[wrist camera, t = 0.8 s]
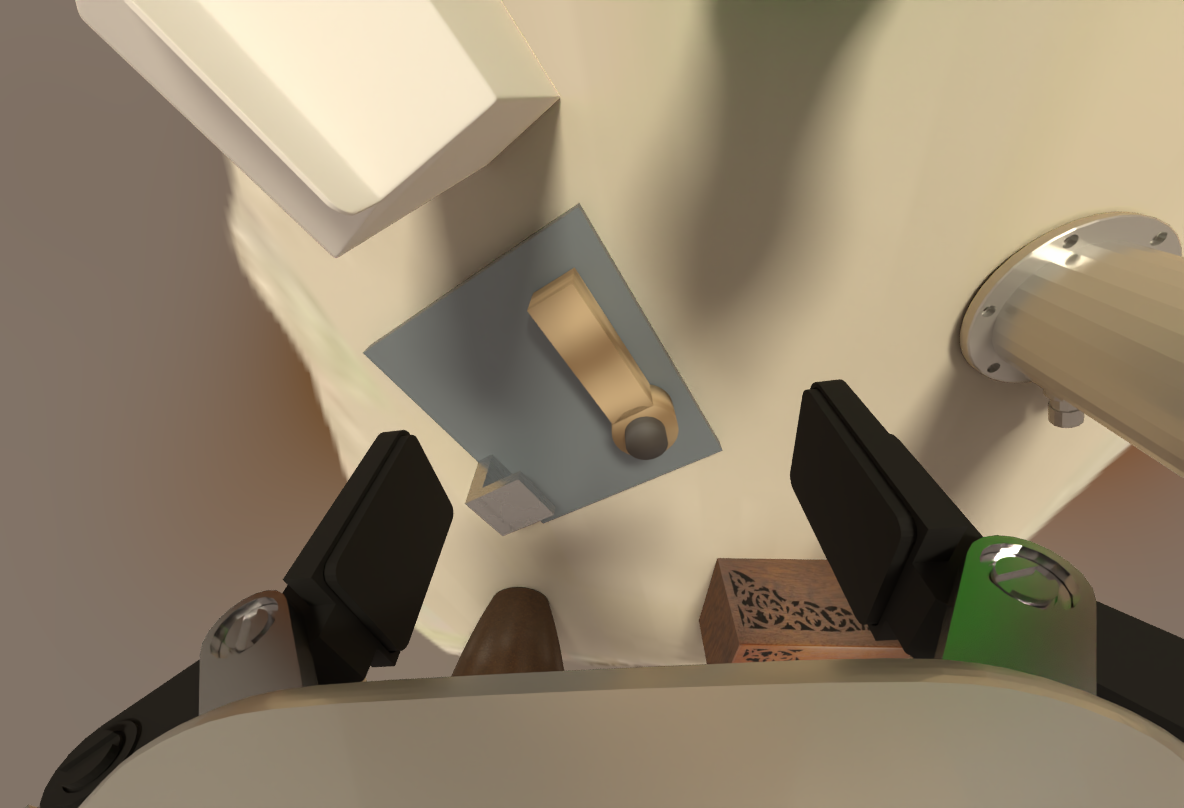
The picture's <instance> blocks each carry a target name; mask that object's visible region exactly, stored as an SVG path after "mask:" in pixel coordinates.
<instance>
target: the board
mask: <svg viewBox="0 0 1184 808" xmlns="http://www.w3.org/2000/svg"><path fill="white" fill-rule="evenodd" d="M574 267H575V269H576V270H577V272H578V273H579V275H580V276H581V278H582V280H583V281H584V283H585V284H586V286H587V287H588V289H589V290H590V292H591V294H592V295H593V297H594V298H595V300H596V301H597V303H598V304H599V306H600V307H601V309H602V311H603V312H604V314H605V315H606V317H607V318H608V320H609V321H610V323H611V325H612V326H613V328H614V329H615V331H616V332H617V334H618V335H619V337H620V339H621V340H622V342H623V343H624V345H625V346H626V348H627V349H628V351H629V352H630V354H631V356H632V357H633V359H634V360H635V362H636V363H637V365H638V366H639V368H640V370H641V371H642V373H643V374H644V376H645V377H646V379H647V380H648V382H649V383H650V384H651V385H655V386H658V387H660V388H662V389H663V390H665V391H666V392H667V393H668V394H669V396H670V397H671V399H672V402H673V406H674V410H675V415H676V419H677V423H678V428H679V431H678V436H677V439H676V441H675V442H674V444H673V445H672V446H671V447H670V448H669V449H667V450H666V451H665V452H664V453H663V454H662V455H661V456H659V457H657V458H654V459H651V460H640V459H637V458H634V457H633V456H631V455H629V454H627V453H625V452H623V451H621V450H620V449H619V448H618V447H617V446H616V444H615V443H614V441H613V438H612V423H611V421H610V420H609V419H608V417H607V416H606V415H605V413H604V412H603V411H602V410H601V408H600V407H599V406H598V404H597V403H596V402H595V400H594V399H593V398H592V396H591V395H590V394H589V392H588V391H587V390H586V388H585V387H584V386H583V384H582V383H581V382H580V380H579V379H578V378H577V376H576V375H575V374H574V372H573V371H572V370H571V368H570V367H569V366H568V364H567V363H566V362H565V360H564V359H563V358H562V356H561V355H560V354H559V352H558V351H557V350H556V349H555V347H554V346H553V345H552V343H551V342H550V341H549V339H548V338H547V337H546V335H545V334H544V333H543V331H542V330H541V329H540V327H539V326H538V325H537V323H536V322H535V321H534V319H533V318H532V317H531V315H530V314H529V313H528V311H527V310H528V307H529V304H530V301H531V298H532V295H533V293H534V292H536V291H538V290H539V289H541V288H542V287H544V286H545V285H547V284H549V283H550V282H552V281H553V280H555V279H557V278H558V277H560V276H561V275H563V274H565V273H566V272H568V271H569V270H571V269H573V268H574ZM363 353H364V354H365V355H366V356H367V357H368V358H369V359H370V360H371V361H372V362H373V363H374V364H375V365H376V366H377V367H378V368H379V369H380V370H382V371H383V372H384V373H385V374H386V375H387V376H388V377H389V378H390V379H391V380H392V381H393V382H394V383H395V384H396V385H397V386H398V387H399V388H401V389H402V390H403V391H404V392H405V393H406V394H407V395H408V396H409V397H410V398H411V399H412V400H413V401H414V402H415V403H416V404H417V405H419V406H420V407H421V408H422V409H423V410H424V411H425V412H426V413H427V414H428V415H429V416H430V417H431V418H432V419H433V420H434V421H435V422H436V423H438V424H439V425H440V426H441V427H442V428H443V429H444V430H445V431H446V432H447V433H448V434H449V435H450V436H451V437H452V438H453V439H454V440H455V441H457V442H458V443H459V444H460V445H461V446H462V447H463V448H464V449H465V450H466V451H467V452H468V453H469V454H470V455H471V456H472V457H473V458H475V459H476V460H477V461H478V462H479V460H481V459H483V458H485V457H487V456H489V455H491V454H493V455H494V456H495V457H496V458H497V459H498V460H499V461H500V462H501V463H502V464H503V465H504V466H505V467H506V468H507V469H508V470H509V471H510V472H511V473H512V474H513V473H516V472H518V471H521V472H522V473H523V474H524V475H525V476H526V477H527V478H528V479H529V480H530V481H531V482H532V483H533V484H534V485H535V486H536V487H537V488H538V489H539V490H540V491H541V492H542V493H543V494H544V495H545V496H546V497H547V498H548V499H549V500H550V501H551V502H552V503H553V504H554V505H555V513H554V515H553V516H550V517H548V518H546V519H543V520H541V522H542V523H545V522H548V521H550V520H553V519H555V518H558V517H560V516H563V515H565V514H568V513H570V512H572V511H575V510H577V509H580V508H582V507H585V506H587V505H590V504H592V503H595V502H597V501H600V500H602V499H604V498H607V497H609V496H612V495H614V494H617V493H619V492H622V491H624V490H627V489H629V488H631V487H634V486H636V485H639V484H641V483H644V482H646V481H649V480H651V479H654V478H656V477H658V476H661V475H663V474H666V473H668V472H671V471H673V470H676V469H678V468H681V467H683V466H685V465H688V464H690V463H693V462H695V461H698V460H700V459H703V458H705V457H708V456H710V455H712V454H715V453H717V452H720V451H722V448H721V445H720V442H719V440H718V439H717V437H716V435H715V434H714V432H713V430H712V428H711V427H710V425H709V423H708V422H707V420H706V418H705V416H704V415H703V413H702V411H701V410H700V408H699V406H698V405H697V403H696V401H695V399H694V398H693V396H692V394H691V393H690V391H689V389H688V388H687V386H686V384H685V382H684V381H683V379H682V377H681V376H680V374H679V372H678V370H677V369H676V367H675V365H674V364H673V362H672V360H671V359H670V357H669V355H668V353H667V352H666V350H665V348H664V347H663V345H662V343H661V342H660V340H659V338H658V336H657V335H656V333H655V331H654V330H653V328H652V326H651V324H650V323H649V321H648V319H647V318H646V316H645V314H644V313H643V311H642V309H641V307H640V306H639V304H638V302H637V301H636V299H635V297H634V296H633V294H632V292H631V290H630V289H629V287H628V285H627V284H626V282H625V280H624V278H623V277H622V275H621V273H620V272H619V270H618V268H617V267H616V265H615V263H614V261H613V260H612V258H611V256H610V255H609V253H608V251H607V250H606V248H605V246H604V244H603V243H602V241H601V239H600V238H599V236H598V234H597V232H596V231H595V229H594V227H593V226H592V224H591V222H590V221H589V219H588V217H587V215H586V214H585V212H584V210H583V209H582V207H581V205H580V203H579V204H577V205H576V206H574V207H573V208H571V209H570V210H568V211H567V212H565V213H564V214H562V215H561V216H559V217H558V218H557V219H555V220H554V221H552V222H551V223H549V224H548V225H546V226H545V227H543V228H542V229H540V230H539V231H537V232H536V233H534V234H533V235H532V236H530V237H529V238H527V239H526V240H524V241H523V242H521V243H520V244H518V245H517V246H515V247H514V248H512V249H511V250H510V251H508V252H507V253H505V254H504V255H502V256H501V257H499V258H498V259H496V260H495V261H493V262H492V263H490V264H489V265H487V266H486V267H485V268H483V269H482V270H480V271H479V272H477V273H476V274H474V275H473V276H471V277H470V278H468V279H467V280H465V281H464V282H462V283H461V284H460V285H458V286H457V287H455V288H454V289H452V290H451V291H449V292H448V293H446V294H445V295H443V296H442V297H440V298H439V299H438V300H436V301H435V302H433V303H432V304H430V305H429V306H427V307H426V308H424V309H423V310H421V311H420V312H418V313H417V314H415V315H414V316H413V317H411V318H410V319H408V320H407V321H405V322H404V323H402V324H401V325H399V326H398V327H396V328H395V329H393V330H392V331H391V332H389V333H388V334H386V335H385V336H383V337H382V338H380V339H379V340H377V341H376V342H374V343H373V344H371V345H370V346H369V347H368V348H367V349H366V350H365V351H364V352H363Z"/></svg>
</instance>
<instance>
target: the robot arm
mask: <svg viewBox="0 0 1184 808" xmlns="http://www.w3.org/2000/svg"><path fill="white" fill-rule="evenodd" d="M1181 256H1182V247H1181V243H1180V240H1179V237H1178V235H1177V233H1176V232H1175V231H1174V230H1173V229H1172V227H1171V226H1170V225H1169V224H1167V223H1165V222H1163V221H1161V220H1159V219H1157V218H1155V217H1151V216H1146V215H1142V214H1138V213H1130V212H1110V213H1101V214H1095V215H1092V216H1088V217H1085V218H1081V219H1078V220H1074V221H1072V222H1070V223H1067V224H1065V225H1063V226H1060V227H1058V228H1056V229H1053V230H1051V231H1050V232H1048V233H1046V234H1044V235H1043V236H1041V237H1039V238H1037V239H1036V240H1034V241H1032V242H1031V243H1029V244H1028V245H1026V246H1025V247H1024V248H1022V249H1021V250H1020V251H1018V252H1017V253H1015V254H1014V255H1013V256H1011V257H1010V258H1009V259H1008V260H1007V261H1006V262H1005V263H1004V264H1003V265H1002V266H1000V267H999V268H998V269H997V270H996V271H995V272H994V273H993V274H992V275H991V277H990V278H989V279H988V280H987V281H986V282H985V283H984V285H983V286H982V287H981V288H980V290H979V291H978V293H977V294H976V296H975V297H974V299H973V300H972V302H971V303H970V306H969V308H968V310H967V312H966V314H965V316H964V319H963V323H962V327H961V331H960V346H961V350H962V353H963V356H964V357H965V359H966V360H967V362H968V363H969V364H970V365H971V366H972V367H973V368H975V369H976V370H977V371H979V372H980V373H981V374H983V375H985V376H987V377H989V378H990V379H994V380H997V381H1001V382H1010V383H1023V382H1034V383H1035V384H1037V385H1038V386H1040V387H1041V388H1043V394H1044V395H1045V396H1046V397H1047V398H1049V399H1050V401H1049V403H1048V419H1049V422H1050V423H1052V424H1053V425H1054V426H1058V427H1061V428H1072V427H1076V426H1079V425H1080V424H1082V423H1083V421H1084V413H1085V414H1086V415H1088V416H1089V417H1091V418H1092V419H1094V420H1095V421H1097V422H1098V423H1100V424H1101V425H1103V426H1104V427H1106V428H1107V429H1109V430H1111V431H1112V432H1114V433H1115V434H1117V435H1118V436H1120V437H1121V438H1123V439H1124V440H1126V441H1127V442H1129V443H1130V444H1132V445H1133V446H1135V447H1137V448H1138V449H1140V450H1141V451H1143V452H1144V453H1146V454H1147V455H1149V456H1150V457H1152V458H1153V459H1155V460H1156V461H1158V462H1159V463H1161V464H1163V465H1164V466H1165V467H1167V468H1169V469H1170V470H1172V471H1173V472H1175V473H1176V474H1178V475H1179V476H1181V477H1183V478H1184V257H1181ZM790 480H791V484H792V487H793V490H794V492H795V494H796V496H797V498H798V500H799V502H800V504H801V506H802V508H803V511H804V513H805V515H806V517H807V519H808V521H809V523H810V525H811V527H812V529H813V531H814V533H815V535H816V537H817V539H818V541H819V544H820V546H821V548H822V550H823V552H824V554H825V556H826V558H827V560H828V562H829V564H830V566H831V568H832V570H833V572H834V574H835V576H836V579H837V581H838V583H839V585H840V587H841V589H842V591H843V593H844V595H845V597H846V599H847V601H848V603H849V605H850V607H851V609H852V612H853V614H854V616H855V617H856V619H857V620H858V622H859V623H860V624H862V625H868V627H869V629H870V631H871V633H872V635H873V637H874V639H875V641H885V640H898V641H899V643H900V644H901V646H902V648H903V650H904V652H905V653H906V654H908V655H910V656H909V658H870V659H832V660H794V661H771V662H748V663H725V664H702V665H679V666H656V667H635V668H614V669H595V670H594V669H593V670H574V671H552V672H532V673H512V674H493V675H474V676H455V677H437V678H418V679H400V680H384V681H370V682H367V680H366V674H367V672H368V669H369V667H370V666H372V667H386V666H395V665H396V662H397V659H398V656H399V654H400V651H402V650H404V649H405V648H406V647H407V645H408V643H409V640H410V638H411V635H412V632H413V629H414V626H415V624H416V621H417V618H418V615H419V612H420V610H421V607H422V604H423V601H424V598H425V595H426V593H427V590H428V587H429V584H430V581H431V578H432V576H433V573H434V570H435V567H436V564H437V562H438V559H439V556H440V553H441V550H442V547H443V545H444V542H445V539H446V536H447V533H448V531H449V528H450V525H451V522H452V519H453V507H452V504H451V502H450V500H449V499H448V497H447V495H446V493H445V491H444V489H443V487H442V485H441V483H440V481H439V479H438V477H437V476H436V474H435V472H434V470H433V468H432V466H431V464H430V462H429V460H428V458H427V456H426V454H425V453H424V451H423V449H422V447H421V445H420V443H419V441H418V439H417V438H416V436H414V435H410V434H409V432H407V431H406V430H399V431H391V432H383V433H380V434H379V435H378V436H377V438H376V440H375V441H374V443H373V444H372V446H371V447H370V449H369V450H368V452H367V453H366V455H365V456H364V458H363V459H362V461H361V462H360V464H359V465H358V467H357V468H356V470H355V471H354V473H353V474H352V476H351V477H350V479H349V480H348V482H347V483H346V485H345V486H344V488H343V489H342V491H341V492H340V494H339V496H338V497H337V499H336V500H335V502H334V503H333V505H332V506H331V508H330V509H329V511H328V512H327V514H326V515H325V517H324V518H323V520H322V521H321V523H320V524H319V526H318V527H317V529H316V530H315V532H314V533H313V535H312V536H311V538H310V539H309V541H308V542H307V544H306V545H305V547H304V548H303V550H302V551H301V553H300V554H299V556H298V557H297V559H296V561H295V562H294V563H293V565H292V567H291V568H290V569H289V571H288V572H287V574H286V576H285V577H284V579H283V580H284V581H285V582H286V583H287V584H288V585H287V587H286V588H285V590H284V592H283V593H281V592H279V591H277V590H266V591H262V592H258V593H255V594H253V595H251V596H249V597H247V598H245V599H243V600H241V601H240V602H239V603H237V604H236V605H234V606H233V607H232V608H230V609H229V610H228V611H227V612H226V613H225V614H224V615H222V616H221V618H219V619H218V620H217V622H216V623H215V624H214V625H213V627H212V628H211V629H210V630H209V632H208V634H207V635H206V638H205V639H204V641H203V643H202V647H201V652H200V660H198V661H197V662H195V663H194V664H192V665H191V666H189V667H188V668H186V669H185V670H183V671H182V672H180V673H179V674H177V675H176V676H175V677H173V678H172V679H170V680H169V681H167V682H166V683H164V684H163V685H161V686H160V687H159V688H157V689H155V690H154V691H152V692H151V693H150V694H148V695H147V696H145V697H144V698H142V699H141V700H139V701H138V702H136V703H135V704H133V705H132V706H130V707H129V708H127V709H126V710H124V711H123V712H122V713H120V714H119V715H117V716H116V717H114V718H113V719H111V720H110V721H108V722H107V723H105V724H104V725H102V726H101V727H100V728H98V729H97V730H96V731H95V732H93V733H92V734H91V735H89V736H88V737H87V738H85V739H84V740H83V741H82V742H81V743H80V744H79V745H78V746H77V747H76V748H75V749H74V750H73V751H72V752H71V753H70V754H69V755H68V756H67V758H66V759H65V760H64V761H63V763H62V764H61V765H60V766H59V767H58V769H57V770H56V771H55V773H54V774H53V776H52V778H51V779H50V781H49V783H48V784H47V786H46V788H45V790H44V793H43V796H42V799H41V802H40V806H39V807H35V806H31V805H27V806H26V807H25V808H1184V639H1182V638H1180V637H1178V636H1176V635H1173V634H1171V633H1169V632H1166V631H1164V630H1162V629H1160V628H1157V627H1155V626H1153V625H1150V624H1148V623H1146V622H1144V621H1141V620H1139V619H1137V618H1134V617H1132V616H1129V615H1127V614H1125V613H1123V612H1120V611H1118V610H1116V609H1114V608H1111V607H1109V606H1107V605H1104V604H1102V603H1100V602H1097V601H1096V598H1095V594H1094V591H1093V588H1092V587H1091V585H1090V584H1089V582H1088V581H1087V579H1086V578H1085V577H1084V575H1083V574H1082V573H1081V572H1080V571H1079V570H1078V569H1076V568H1075V567H1074V566H1073V565H1072V564H1071V563H1070V562H1068V561H1067V560H1065V559H1063V558H1062V557H1061V556H1059V555H1057V554H1056V553H1054V552H1053V551H1051V550H1049V549H1047V548H1045V547H1042V546H1040V545H1038V544H1035V543H1033V542H1031V541H1027V540H1023V539H1020V538H1016V537H1010V536H999V535H995V536H988V537H983V536H982V535H981V534H980V533H979V532H978V531H977V529H976V528H975V527H974V526H973V525H972V524H971V522H970V521H969V520H968V519H967V518H966V517H965V515H964V514H963V513H962V512H961V511H960V510H959V509H958V507H957V506H956V505H955V504H954V503H953V502H952V500H951V499H950V498H949V497H948V496H947V495H946V493H945V492H944V491H943V490H942V489H941V488H940V487H939V485H938V484H937V483H936V482H935V481H934V480H933V478H932V477H931V476H930V475H929V474H928V473H927V471H926V470H925V469H924V468H923V467H922V466H921V465H920V463H919V462H918V461H917V460H916V459H915V458H914V456H913V455H912V454H911V453H910V452H909V451H908V449H907V448H906V447H905V446H904V445H903V444H902V443H901V441H900V440H899V439H898V438H896V437H895V436H894V435H892V434H889V433H888V432H887V431H886V429H885V428H884V427H883V426H882V425H881V423H880V422H879V421H878V420H877V419H876V418H875V416H874V415H873V414H872V413H871V412H870V411H869V409H868V408H867V407H866V406H865V405H864V403H863V402H862V401H861V400H860V399H859V398H858V396H857V395H856V394H855V393H854V392H853V391H852V389H851V388H850V387H849V386H848V385H847V383H846V382H844V381H843V380H831V381H822V382H815V383H813V384H812V386H811V388H810V389H809V390H805V391H804V392H803V395H802V402H801V408H800V414H799V421H798V427H797V433H796V440H795V446H794V452H793V459H792V465H791V471H790Z"/></svg>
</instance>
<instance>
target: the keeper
mask: <svg viewBox="0 0 1184 808" xmlns="http://www.w3.org/2000/svg"><path fill="white" fill-rule="evenodd" d="M465 504H466V505H467V506H468V507H469V508H470V509H472V510H473V511H474V512H475V513H476V514H477V515H479V516H480V517H481V518H482V519H483V520H484V521H486V522H487V523H488V524H489V525H490V526H492V527H493V528H494V529H495V530H496V531H497V532H499V533H500V534H501V535H502V536H504V535H507V534H509V533H511V532H514V531H516V530H519V529H521V528H524V527H526V526H528V525H531V524H533V523H536V522H538V521H541V520H543V519H546V518H548V517H550V516H553V515H554V513H555V505H554V504H553V503H552V502H551V501H550V500H549V499H548V498H547V497H546V496H545V495H544V494H543V493H542V492H541V491H540V490H539V489H538V488H537V487H536V486H535V485H534V484H533V483H532V482H531V481H530V480H529V479H528V478H527V477H526V476H525V475H524V474H523V473H522V472H521V471H518V472H516V473H513V474H512V473H511V472H510V471H509V470H508V469H507V468H506V467H505V466H504V465H503V464H502V463H501V462H500V461H499V460H498V459H497V458H496V457H495V456H494V455H493V454H491V455H489V456H487V457H485V458H483V459H481V460H479V463H478V466H477V469H476V472H475V475H474V478H473V481H472V484H471V487H470V490H469V493H468V496H467V499H466V502H465Z"/></svg>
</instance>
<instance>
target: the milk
mask: <svg viewBox="0 0 1184 808" xmlns="http://www.w3.org/2000/svg"><path fill="white" fill-rule="evenodd" d="M75 1H76V5H77V9H78V12H79V14H80V16H81V17H82V19H83V20H84V21H85V22H86V23H87V24H88V25H89V26H90V27H91V28H92V29H93V30H94V31H95V32H96V33H97V34H98V35H99V36H100V37H101V38H102V39H103V40H104V41H105V42H106V43H108V44H109V45H110V46H111V47H112V48H113V49H114V50H115V51H116V52H117V53H118V54H119V55H120V56H121V57H122V58H124V59H125V60H126V61H127V62H128V63H129V64H130V65H131V66H132V67H133V68H134V69H135V70H136V71H137V72H138V73H139V74H140V75H141V76H143V78H145V79H146V80H147V81H148V82H149V83H150V84H151V85H152V86H153V87H154V88H155V89H156V90H157V91H158V92H159V93H161V95H162V96H164V97H165V98H166V99H167V100H168V101H169V102H170V103H171V104H172V105H173V106H174V107H175V108H176V109H177V110H179V112H180V113H182V114H183V115H184V116H185V117H186V118H187V119H188V120H189V121H190V122H191V123H192V124H193V125H194V126H195V127H196V128H197V129H198V130H199V131H201V132H202V133H203V134H204V135H205V136H206V137H207V138H208V139H209V140H210V141H211V142H212V143H213V144H214V145H215V146H217V147H218V148H219V149H220V150H221V151H222V152H223V153H224V154H225V155H226V156H227V157H228V158H229V159H230V160H231V161H232V162H233V163H234V164H235V165H236V166H238V167H239V168H240V169H241V170H242V171H243V172H244V173H245V174H246V175H247V176H248V177H249V178H250V179H251V180H252V181H253V182H254V183H256V184H257V185H258V186H259V187H260V188H261V189H262V190H263V191H264V192H265V193H266V194H267V195H268V196H269V197H270V198H271V199H272V200H273V201H275V202H276V203H277V204H278V205H279V206H280V207H281V208H282V209H283V210H284V211H285V212H286V213H287V214H288V215H289V216H290V217H291V218H293V219H294V220H295V221H296V222H297V223H298V224H299V225H300V226H301V227H302V228H303V229H304V230H305V231H306V232H307V233H308V234H309V235H310V236H312V237H313V238H314V239H315V240H316V241H317V242H318V243H319V244H320V245H321V246H322V247H323V248H324V249H325V250H326V251H327V252H328V253H330V254H331V255H332V256H333V257H335V258H338V257H340V256H341V255H343V254H344V253H346V252H348V251H349V250H351V249H352V248H354V247H356V246H357V245H359V244H361V243H362V242H364V241H365V240H367V239H369V238H370V237H372V236H373V235H375V234H377V233H378V232H380V231H381V230H383V229H385V228H386V227H388V226H390V225H391V224H393V223H394V222H396V221H398V220H399V219H401V218H402V217H404V216H406V215H407V214H409V213H411V212H412V211H414V210H415V209H417V208H419V207H420V206H422V205H423V204H425V203H427V202H428V201H430V200H431V199H433V198H435V197H436V196H438V195H440V194H441V193H443V192H444V191H446V190H448V189H449V188H451V187H452V186H454V185H456V184H457V183H459V182H460V181H462V180H464V179H465V178H467V177H469V176H470V175H472V174H473V173H475V172H477V171H478V170H480V169H481V168H483V167H485V166H486V165H488V164H489V163H490V162H491V161H492V160H493V159H494V158H495V157H496V156H497V155H499V154H500V153H501V152H502V151H503V150H504V149H505V148H506V147H507V146H508V145H509V144H511V143H512V142H513V141H514V140H515V139H516V138H517V137H518V136H519V135H520V134H521V133H523V132H524V131H525V130H526V129H527V128H528V127H529V126H530V125H531V124H532V123H533V122H535V121H536V120H537V119H538V118H539V117H540V116H541V115H542V114H543V113H544V112H545V111H547V110H548V109H549V108H550V107H551V106H552V105H553V104H554V103H555V102H556V101H557V100H558V99H559V98H560V95H559V93H558V91H557V90H556V88H555V87H554V85H553V83H552V82H551V80H550V78H549V77H548V75H547V74H546V72H545V70H544V69H543V67H542V65H541V64H540V62H539V61H538V59H537V57H536V56H535V54H534V53H533V51H532V49H531V48H530V46H529V44H528V43H527V41H526V40H525V38H524V36H523V35H522V33H521V32H520V30H519V28H518V27H517V25H516V23H515V22H514V20H513V19H512V17H511V15H510V14H509V12H508V11H507V9H506V7H505V6H504V4H503V2H502V1H501V0H75Z"/></svg>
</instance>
